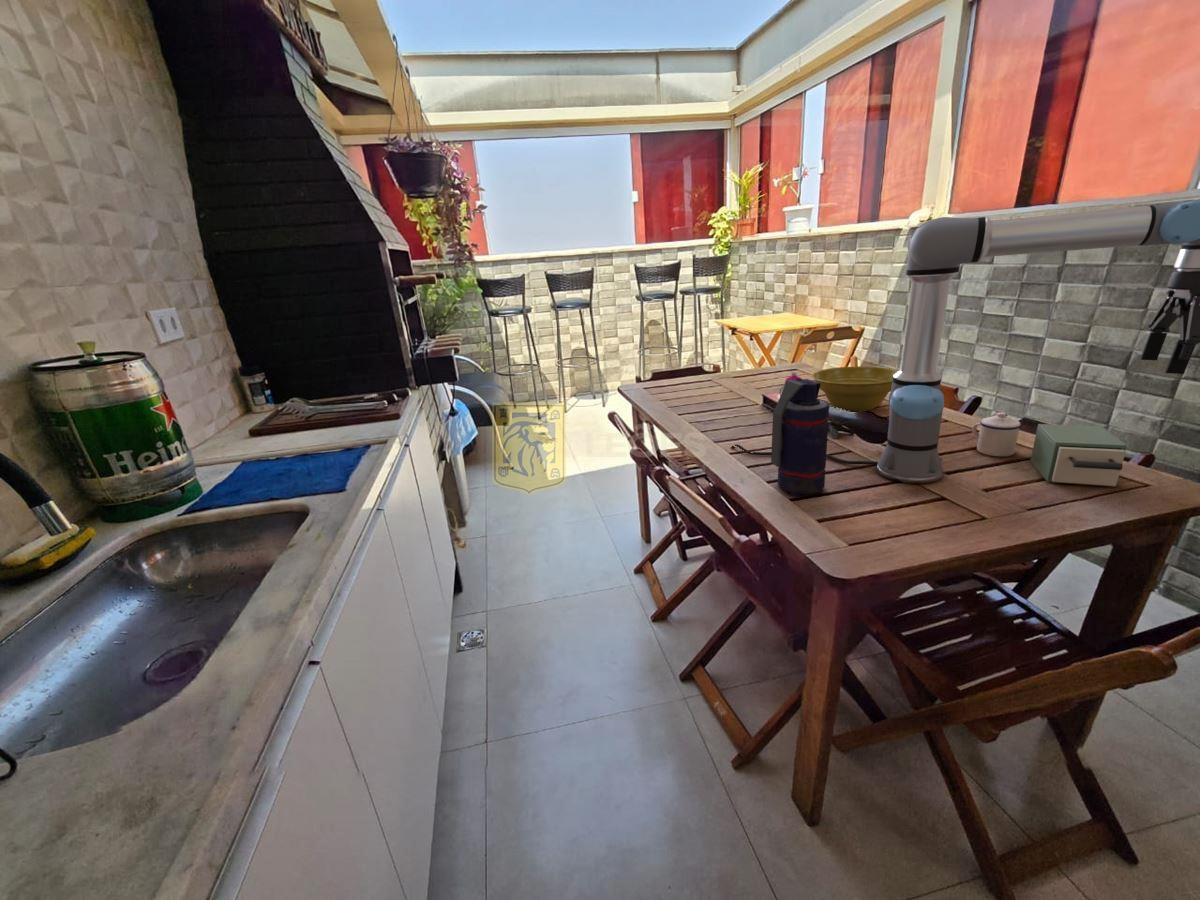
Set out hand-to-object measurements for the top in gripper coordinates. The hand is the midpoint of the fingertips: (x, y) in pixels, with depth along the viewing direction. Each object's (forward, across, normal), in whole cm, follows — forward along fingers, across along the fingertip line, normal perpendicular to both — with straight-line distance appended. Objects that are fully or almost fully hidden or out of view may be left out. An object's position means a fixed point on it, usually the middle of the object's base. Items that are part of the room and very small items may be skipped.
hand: (1160, 366), depth 114 cm
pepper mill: (+22, +22, +83) cm, 88 cm away
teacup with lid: (+29, +8, +25) cm, 39 cm away
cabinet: (+27, -5, +11) cm, 30 cm away
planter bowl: (+32, +49, +63) cm, 86 cm away
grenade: (+31, -33, +72) cm, 85 cm away
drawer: (+26, -10, +10) cm, 30 cm away
